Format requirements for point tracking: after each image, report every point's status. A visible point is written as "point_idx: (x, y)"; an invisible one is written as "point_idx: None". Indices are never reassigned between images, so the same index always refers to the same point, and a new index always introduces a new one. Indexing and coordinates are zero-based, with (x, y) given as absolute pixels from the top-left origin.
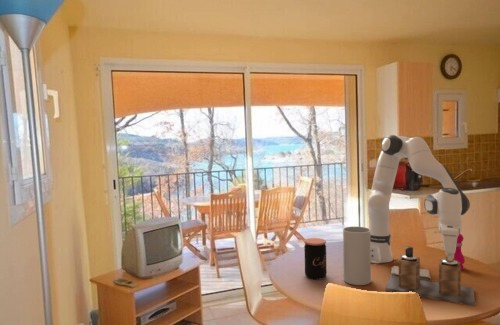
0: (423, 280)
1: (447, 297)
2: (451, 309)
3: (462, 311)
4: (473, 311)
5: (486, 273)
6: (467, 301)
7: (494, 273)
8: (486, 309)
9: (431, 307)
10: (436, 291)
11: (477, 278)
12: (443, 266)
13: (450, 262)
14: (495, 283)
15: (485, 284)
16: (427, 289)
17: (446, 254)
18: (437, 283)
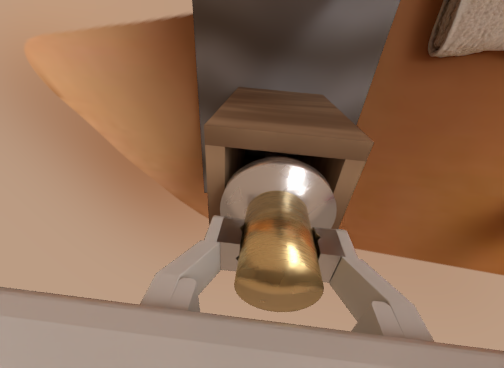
0: (442, 9)
1: (202, 117)
2: (142, 119)
3: (148, 149)
4: (166, 176)
5: (494, 255)
6: (204, 174)
7: (489, 270)
8: (198, 205)
9: (113, 46)
10: (251, 76)
11: (448, 227)
12: (207, 155)
13: (232, 214)
14: (398, 256)
15: (389, 236)
16: (262, 30)
17: (255, 239)
18: (358, 87)
